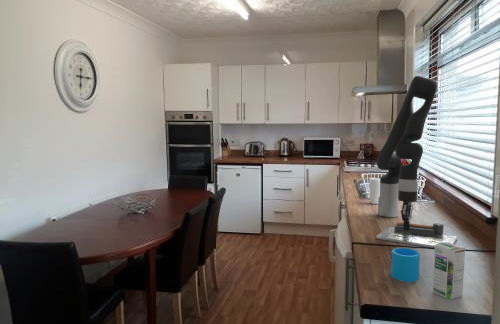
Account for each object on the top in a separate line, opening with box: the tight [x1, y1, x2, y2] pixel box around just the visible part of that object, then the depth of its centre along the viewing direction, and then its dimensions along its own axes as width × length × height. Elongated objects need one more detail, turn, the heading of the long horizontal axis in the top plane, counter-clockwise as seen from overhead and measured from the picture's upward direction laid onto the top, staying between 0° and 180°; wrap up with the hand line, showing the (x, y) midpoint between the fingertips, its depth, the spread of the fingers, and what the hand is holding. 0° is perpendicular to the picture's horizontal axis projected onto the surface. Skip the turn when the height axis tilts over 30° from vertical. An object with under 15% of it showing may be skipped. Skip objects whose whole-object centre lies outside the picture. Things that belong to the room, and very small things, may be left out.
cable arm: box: [394, 221, 445, 235], centre depth 166 cm, size 19×6×4 cm, turn 62°
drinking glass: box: [368, 177, 381, 205], centre depth 229 cm, size 7×7×15 cm
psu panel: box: [375, 226, 458, 249], centre depth 161 cm, size 28×18×1 cm, turn 55°
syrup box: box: [432, 242, 466, 301], centre depth 109 cm, size 6×6×14 cm
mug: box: [390, 247, 421, 283], centre depth 124 cm, size 12×8×8 cm
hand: (406, 229), depth 165 cm, fingers closed
